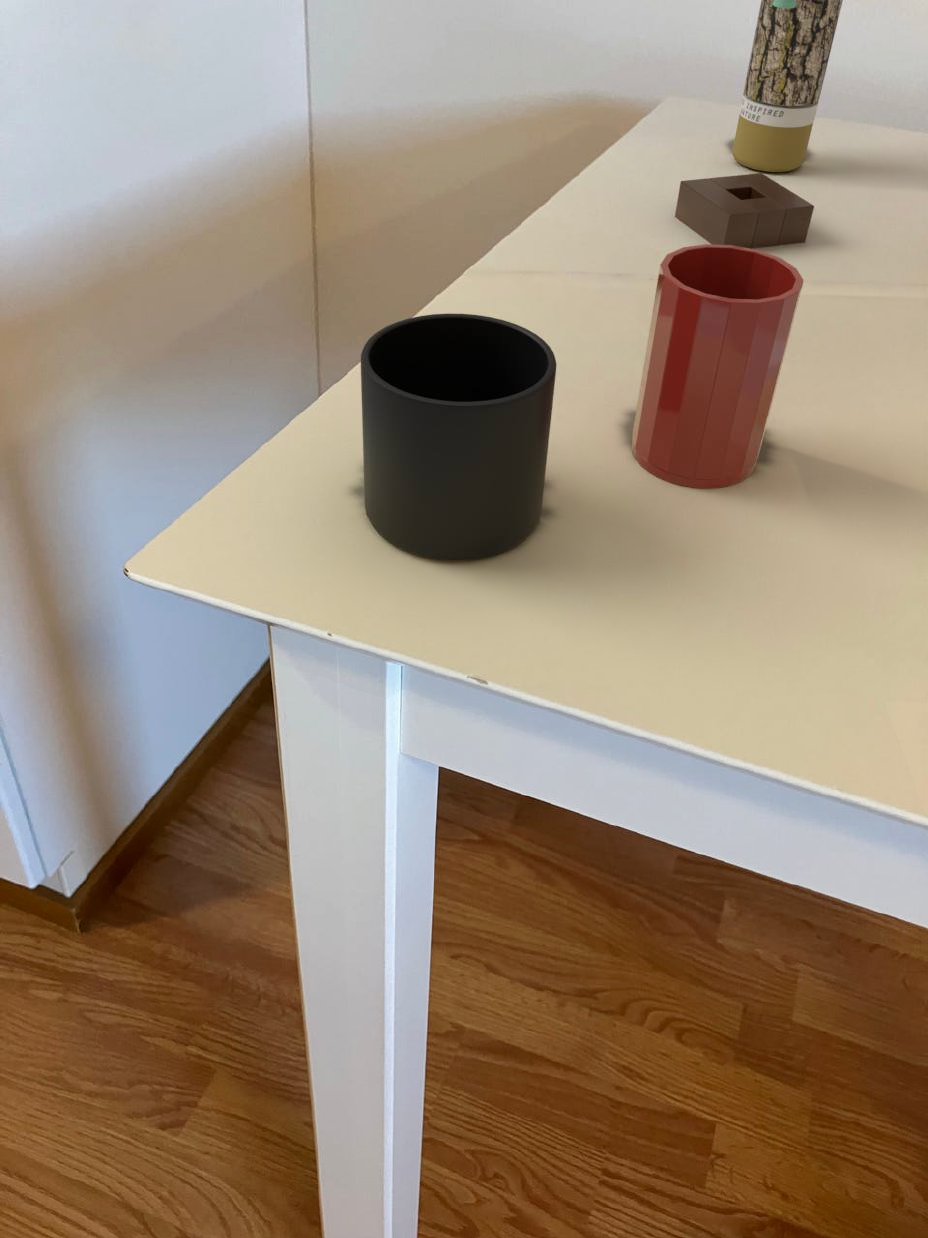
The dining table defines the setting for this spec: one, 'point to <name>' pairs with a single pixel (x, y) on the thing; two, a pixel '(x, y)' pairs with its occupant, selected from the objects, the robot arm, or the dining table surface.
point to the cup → (713, 363)
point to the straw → (785, 3)
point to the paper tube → (784, 83)
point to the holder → (743, 211)
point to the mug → (455, 433)
